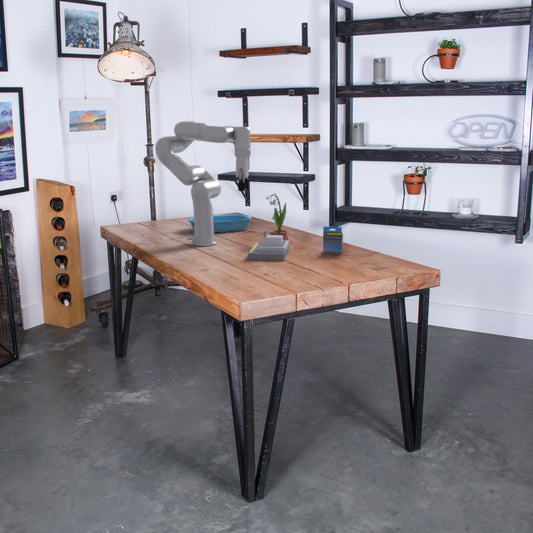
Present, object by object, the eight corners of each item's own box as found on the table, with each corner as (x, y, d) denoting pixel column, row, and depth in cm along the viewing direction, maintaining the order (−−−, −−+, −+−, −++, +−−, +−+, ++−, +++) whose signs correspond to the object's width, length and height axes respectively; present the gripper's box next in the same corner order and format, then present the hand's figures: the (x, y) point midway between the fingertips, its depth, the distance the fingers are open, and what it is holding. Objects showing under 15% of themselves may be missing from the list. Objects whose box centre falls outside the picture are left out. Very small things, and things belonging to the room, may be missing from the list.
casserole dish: (244, 224, 379) (244, 212, 377) (258, 230, 359) (257, 217, 357) (183, 229, 365) (183, 217, 364) (194, 236, 345) (193, 223, 344)
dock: (248, 259, 287) (248, 249, 285) (256, 248, 310) (256, 238, 308) (283, 260, 284) (283, 249, 283) (289, 249, 307) (289, 238, 306)
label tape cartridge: (343, 251, 300) (343, 225, 298) (341, 253, 297) (342, 227, 294) (324, 250, 303) (324, 225, 300) (322, 252, 299) (323, 226, 296)
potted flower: (261, 243, 322) (260, 193, 316) (271, 239, 331) (270, 191, 325) (283, 245, 317) (282, 194, 311) (291, 241, 326) (291, 192, 320)
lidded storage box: (264, 249, 294) (264, 230, 292) (265, 246, 299) (265, 228, 297) (281, 249, 293) (281, 230, 291) (282, 247, 298) (282, 229, 296)
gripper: (238, 152, 311) (238, 187, 315) (231, 154, 294) (232, 192, 298) (253, 152, 310) (254, 187, 314) (247, 154, 293) (248, 192, 297)
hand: (243, 189), depth 306 cm, fingers open, 9 cm apart
